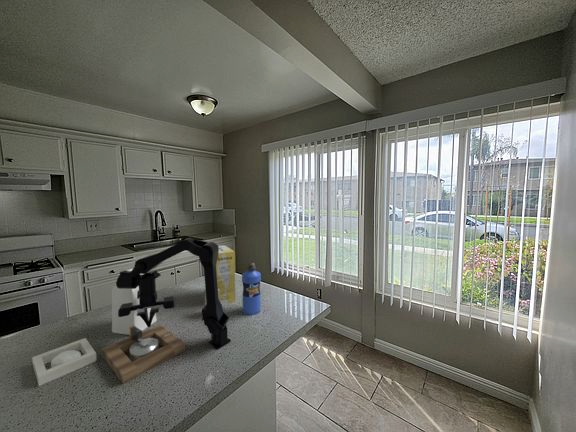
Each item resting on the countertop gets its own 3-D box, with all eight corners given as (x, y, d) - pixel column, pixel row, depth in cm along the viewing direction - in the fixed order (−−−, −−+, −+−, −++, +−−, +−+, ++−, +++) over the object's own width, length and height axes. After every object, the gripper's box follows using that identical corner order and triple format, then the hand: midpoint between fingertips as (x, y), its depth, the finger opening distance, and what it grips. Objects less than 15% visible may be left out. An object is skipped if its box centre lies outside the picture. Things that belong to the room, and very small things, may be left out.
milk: (135, 335, 97) (131, 274, 95) (111, 332, 100) (108, 272, 97) (156, 320, 109) (154, 265, 107) (135, 318, 111) (132, 264, 109)
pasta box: (208, 293, 139) (207, 247, 137) (225, 290, 145) (224, 245, 142) (216, 305, 124) (214, 253, 122) (235, 301, 129) (234, 251, 127)
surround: (185, 350, 88) (184, 342, 88) (122, 384, 72) (122, 374, 72) (160, 331, 100) (160, 324, 100) (102, 356, 85) (102, 348, 84)
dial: (163, 350, 88) (162, 331, 87) (137, 365, 80) (136, 344, 80) (144, 338, 95) (143, 321, 94) (119, 350, 87) (118, 332, 87)
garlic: (87, 357, 85) (87, 347, 84) (70, 370, 78) (69, 360, 78) (65, 356, 85) (65, 346, 84) (46, 370, 78) (45, 359, 78)
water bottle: (263, 313, 117) (262, 263, 114) (244, 316, 113) (243, 265, 111) (258, 305, 125) (258, 259, 123) (240, 308, 122) (240, 260, 120)
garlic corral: (96, 360, 82) (96, 352, 82) (38, 386, 71) (37, 377, 71) (85, 345, 91) (85, 337, 91) (32, 365, 80) (32, 357, 80)
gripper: (174, 278, 103) (175, 312, 104) (123, 285, 95) (125, 321, 97) (173, 287, 93) (175, 325, 94) (116, 295, 85) (119, 336, 87)
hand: (149, 326), depth 93 cm, fingers closed
